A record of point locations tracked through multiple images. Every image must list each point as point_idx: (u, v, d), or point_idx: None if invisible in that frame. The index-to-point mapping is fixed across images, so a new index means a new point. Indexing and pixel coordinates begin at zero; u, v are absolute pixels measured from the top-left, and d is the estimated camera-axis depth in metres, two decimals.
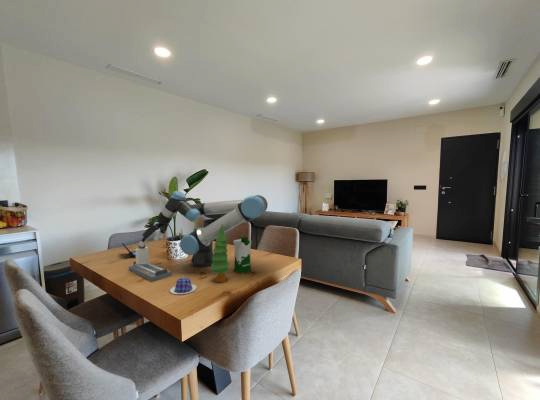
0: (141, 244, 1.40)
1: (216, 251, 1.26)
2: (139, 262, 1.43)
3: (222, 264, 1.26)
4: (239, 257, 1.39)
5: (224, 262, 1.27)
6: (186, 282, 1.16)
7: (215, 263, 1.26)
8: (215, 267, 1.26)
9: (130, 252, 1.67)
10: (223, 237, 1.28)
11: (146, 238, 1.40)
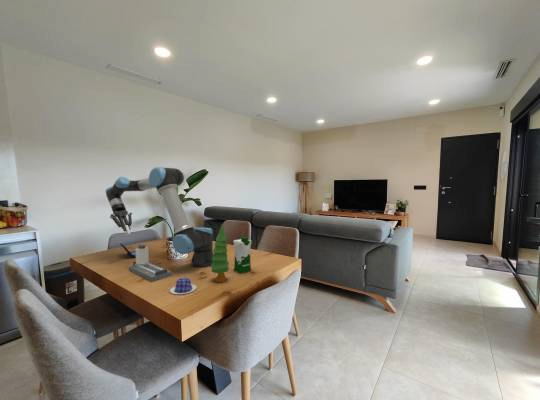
0: (127, 233, 1.54)
1: (216, 251, 1.26)
2: (139, 262, 1.43)
3: (222, 264, 1.26)
4: (239, 257, 1.39)
5: (224, 262, 1.27)
6: (186, 282, 1.16)
7: (215, 263, 1.26)
8: (215, 267, 1.26)
9: (129, 252, 1.66)
10: (223, 237, 1.28)
11: (125, 226, 1.56)
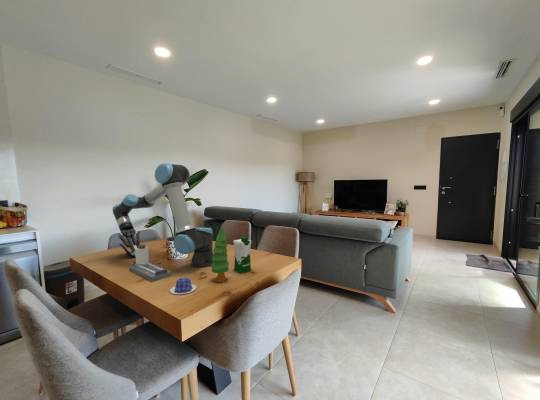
0: (135, 253, 1.49)
1: (216, 251, 1.26)
2: (139, 262, 1.43)
3: (222, 264, 1.26)
4: (239, 257, 1.39)
5: (224, 262, 1.27)
6: (186, 282, 1.16)
7: (215, 263, 1.26)
8: (215, 267, 1.26)
9: (129, 252, 1.66)
10: (223, 237, 1.28)
11: (133, 247, 1.50)
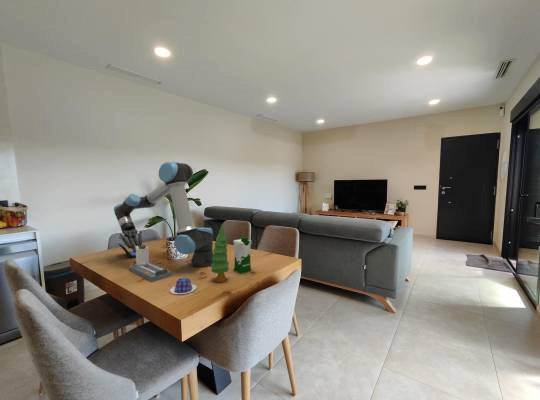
0: None
1: (216, 251, 1.26)
2: (139, 262, 1.42)
3: (222, 264, 1.26)
4: (239, 257, 1.39)
5: (224, 262, 1.27)
6: (186, 282, 1.16)
7: (215, 263, 1.26)
8: (215, 267, 1.26)
9: (128, 252, 1.66)
10: (223, 237, 1.28)
11: (135, 247, 1.48)
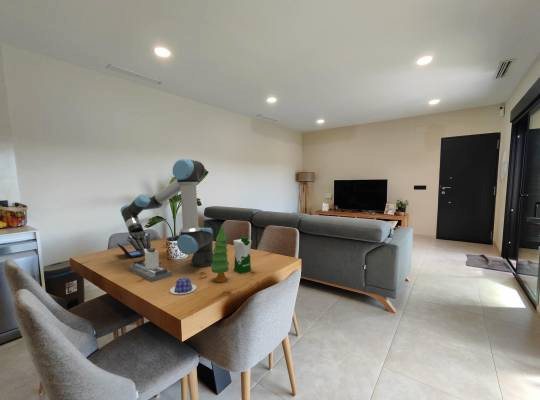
0: None
1: (216, 251, 1.26)
2: (149, 266, 1.35)
3: (222, 264, 1.26)
4: (239, 257, 1.39)
5: (224, 262, 1.27)
6: (187, 282, 1.16)
7: (215, 263, 1.26)
8: (215, 267, 1.26)
9: (128, 252, 1.66)
10: (223, 237, 1.28)
11: (143, 250, 1.40)
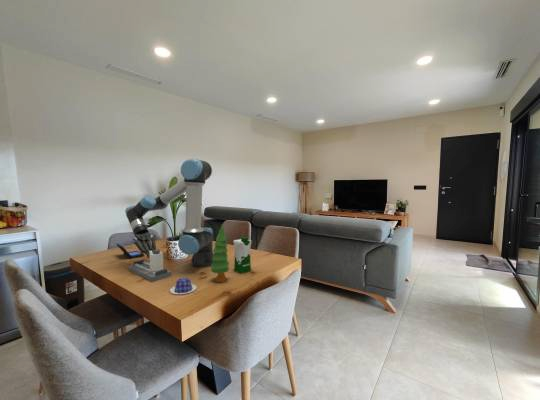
0: None
1: (216, 251, 1.26)
2: (153, 268, 1.32)
3: (222, 264, 1.26)
4: (239, 257, 1.39)
5: (224, 262, 1.27)
6: (187, 282, 1.16)
7: (215, 263, 1.26)
8: (215, 267, 1.26)
9: (127, 253, 1.66)
10: (223, 237, 1.28)
11: (149, 252, 1.38)
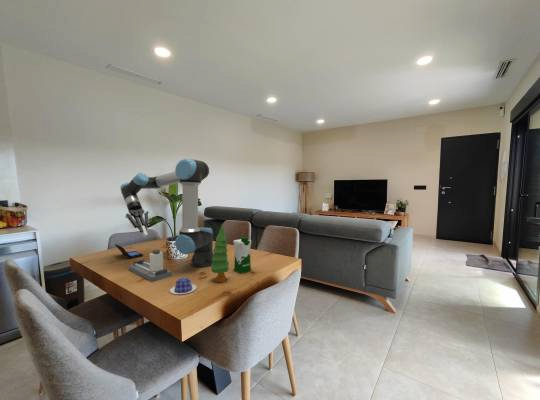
0: (144, 234, 1.43)
1: (216, 251, 1.26)
2: (153, 268, 1.32)
3: (222, 264, 1.26)
4: (239, 257, 1.39)
5: (224, 262, 1.27)
6: (187, 281, 1.16)
7: (215, 263, 1.26)
8: (215, 267, 1.26)
9: (127, 253, 1.65)
10: (223, 237, 1.28)
11: (141, 227, 1.44)
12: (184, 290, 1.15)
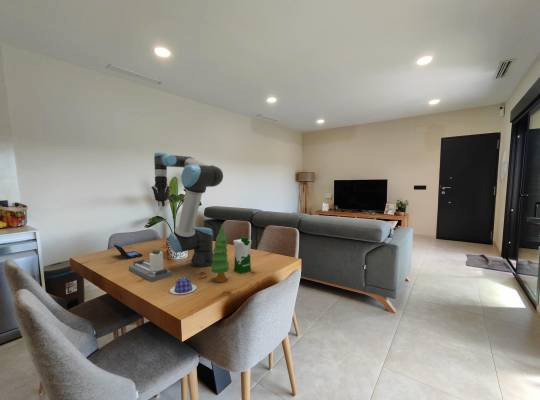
0: None
1: (216, 251, 1.26)
2: (153, 268, 1.32)
3: (222, 264, 1.26)
4: (239, 257, 1.39)
5: (224, 262, 1.27)
6: (188, 281, 1.17)
7: (215, 263, 1.26)
8: (215, 267, 1.26)
9: (126, 253, 1.65)
10: (223, 237, 1.28)
11: None
12: (185, 290, 1.15)
